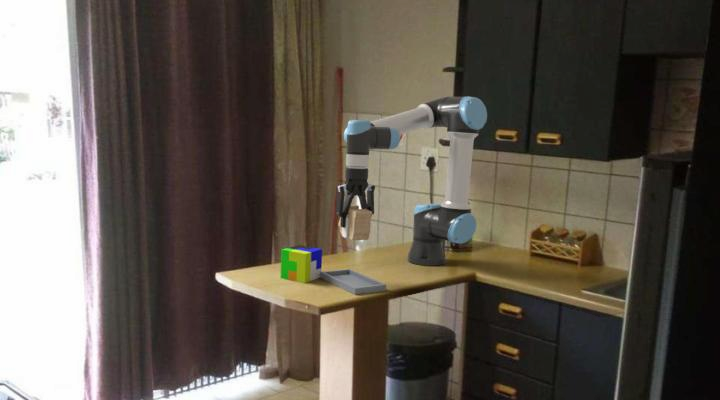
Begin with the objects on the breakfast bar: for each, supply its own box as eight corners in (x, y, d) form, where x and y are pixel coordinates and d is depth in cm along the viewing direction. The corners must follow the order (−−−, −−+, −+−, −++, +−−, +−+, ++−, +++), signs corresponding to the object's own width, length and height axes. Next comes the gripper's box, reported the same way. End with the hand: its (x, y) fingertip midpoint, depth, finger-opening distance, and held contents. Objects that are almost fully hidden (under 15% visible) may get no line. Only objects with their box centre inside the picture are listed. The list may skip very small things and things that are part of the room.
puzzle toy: (321, 277, 221) (322, 249, 219) (304, 283, 212) (305, 253, 211) (297, 272, 226) (298, 245, 224) (280, 278, 217) (281, 249, 216)
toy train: (353, 232, 220) (354, 203, 219) (370, 242, 204) (372, 211, 203) (338, 232, 218) (339, 203, 217) (354, 242, 202) (356, 211, 201)
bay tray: (320, 277, 220) (320, 271, 220) (349, 274, 226) (349, 268, 226) (354, 294, 201) (355, 288, 200) (386, 290, 207) (386, 284, 207)
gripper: (375, 166, 216) (372, 232, 220) (325, 166, 206) (323, 236, 209) (387, 168, 210) (384, 236, 213) (337, 168, 200) (334, 240, 203)
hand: (354, 236), depth 211 cm, fingers closed on toy train, 6 cm apart
